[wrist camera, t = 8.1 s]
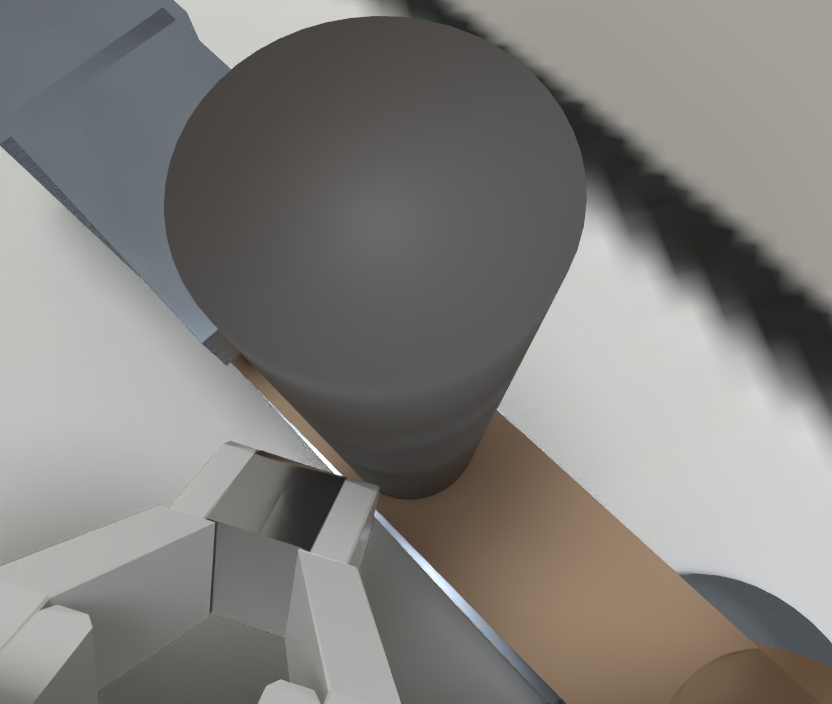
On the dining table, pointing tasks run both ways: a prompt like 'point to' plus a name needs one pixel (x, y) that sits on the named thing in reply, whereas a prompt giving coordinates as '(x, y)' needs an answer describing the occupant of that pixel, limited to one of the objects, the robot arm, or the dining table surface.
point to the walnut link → (438, 336)
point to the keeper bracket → (144, 202)
